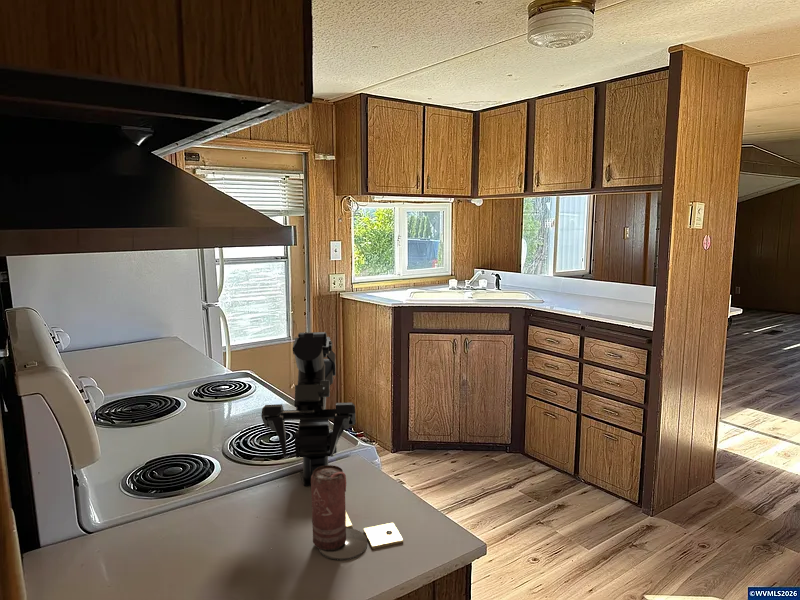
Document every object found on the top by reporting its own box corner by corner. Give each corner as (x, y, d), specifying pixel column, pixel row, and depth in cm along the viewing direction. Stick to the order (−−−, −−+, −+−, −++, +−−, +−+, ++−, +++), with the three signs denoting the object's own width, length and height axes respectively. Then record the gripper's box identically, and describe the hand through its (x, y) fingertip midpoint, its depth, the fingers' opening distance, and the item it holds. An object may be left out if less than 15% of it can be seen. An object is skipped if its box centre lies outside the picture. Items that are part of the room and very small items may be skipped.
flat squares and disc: (308, 518, 111) (308, 515, 111) (381, 505, 116) (381, 502, 116) (323, 564, 97) (323, 561, 96) (405, 547, 101) (405, 543, 101)
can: (347, 551, 99) (345, 478, 97) (312, 553, 99) (309, 480, 96) (347, 531, 105) (346, 463, 103) (314, 533, 105) (312, 464, 102)
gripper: (260, 366, 110) (253, 442, 101) (354, 364, 112) (355, 438, 103) (268, 391, 119) (262, 462, 110) (355, 389, 121) (355, 459, 112)
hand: (307, 455), depth 108 cm, fingers open, 9 cm apart
